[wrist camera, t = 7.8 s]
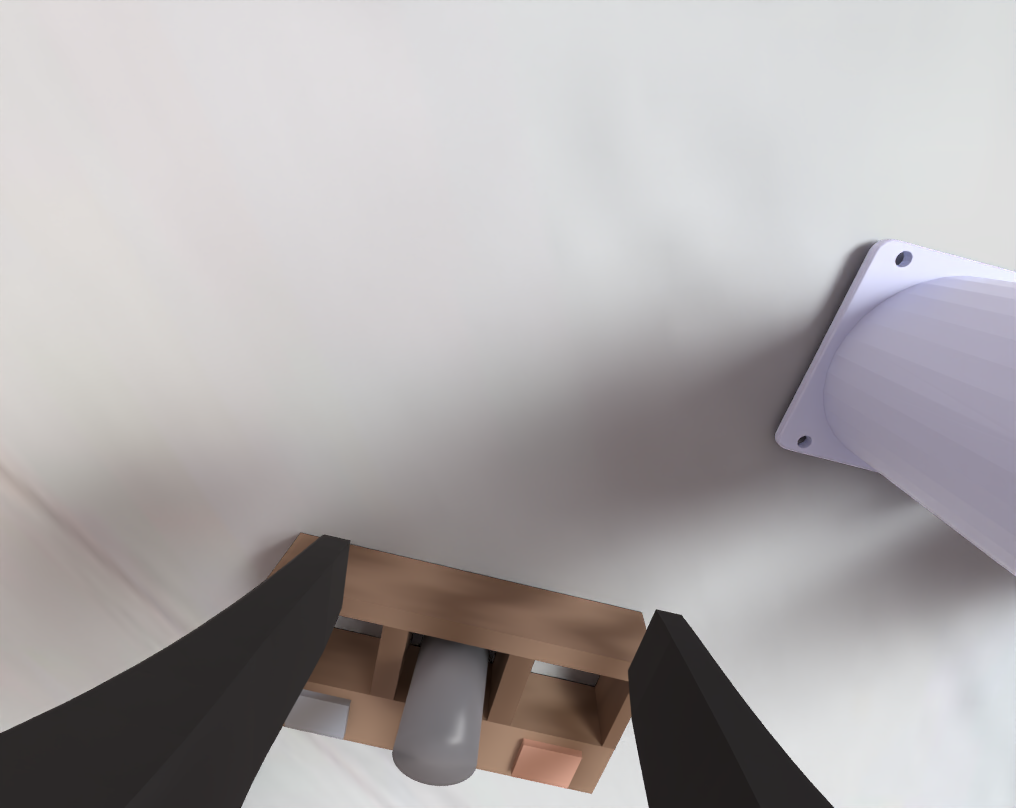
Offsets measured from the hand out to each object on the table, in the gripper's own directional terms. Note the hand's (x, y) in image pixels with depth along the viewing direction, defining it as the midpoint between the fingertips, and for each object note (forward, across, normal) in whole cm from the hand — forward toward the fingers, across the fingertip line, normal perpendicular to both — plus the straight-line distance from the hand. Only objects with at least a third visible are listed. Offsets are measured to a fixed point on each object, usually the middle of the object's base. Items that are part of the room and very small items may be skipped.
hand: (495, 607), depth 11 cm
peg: (+9, 0, +11) cm, 14 cm away
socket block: (+9, 0, +12) cm, 15 cm away
